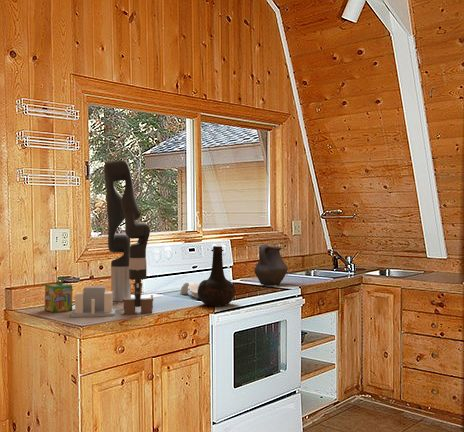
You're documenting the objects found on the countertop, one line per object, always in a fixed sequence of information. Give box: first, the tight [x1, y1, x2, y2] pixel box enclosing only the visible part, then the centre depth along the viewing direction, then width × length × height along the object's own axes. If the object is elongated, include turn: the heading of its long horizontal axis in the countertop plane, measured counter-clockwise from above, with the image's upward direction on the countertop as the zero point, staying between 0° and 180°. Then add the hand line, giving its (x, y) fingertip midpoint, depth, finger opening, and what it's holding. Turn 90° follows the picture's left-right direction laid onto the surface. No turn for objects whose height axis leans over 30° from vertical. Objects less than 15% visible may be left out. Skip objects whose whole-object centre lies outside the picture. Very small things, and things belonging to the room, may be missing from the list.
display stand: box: [70, 285, 117, 318], centre depth 244 cm, size 14×18×11 cm
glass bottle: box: [198, 245, 236, 307], centre depth 268 cm, size 18×18×28 cm
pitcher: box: [254, 244, 288, 286], centre depth 343 cm, size 21×22×25 cm
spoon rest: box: [179, 281, 200, 299], centre depth 296 cm, size 24×12×7 cm, turn 38°
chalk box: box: [44, 276, 73, 313], centre depth 253 cm, size 9×9×15 cm
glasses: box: [122, 294, 154, 315], centre depth 252 cm, size 14×13×6 cm
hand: (137, 305), depth 246 cm, fingers open, 8 cm apart
